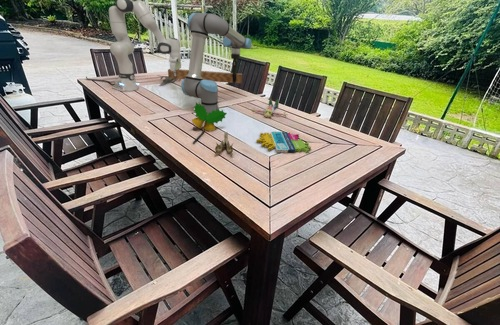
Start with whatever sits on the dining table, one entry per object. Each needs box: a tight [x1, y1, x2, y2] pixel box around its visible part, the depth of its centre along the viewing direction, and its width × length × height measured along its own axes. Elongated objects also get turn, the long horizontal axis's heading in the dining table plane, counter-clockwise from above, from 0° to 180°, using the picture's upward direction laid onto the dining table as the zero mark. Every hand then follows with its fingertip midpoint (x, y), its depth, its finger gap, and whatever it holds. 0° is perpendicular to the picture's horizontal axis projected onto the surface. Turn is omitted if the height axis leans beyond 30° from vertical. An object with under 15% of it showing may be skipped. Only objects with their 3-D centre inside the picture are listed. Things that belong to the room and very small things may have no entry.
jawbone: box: [214, 131, 234, 156], centre depth 136 cm, size 9×15×10 cm
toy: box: [250, 97, 288, 118], centre depth 199 cm, size 28×7×30 cm
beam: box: [167, 68, 243, 84], centre depth 231 cm, size 65×5×7 cm, turn 87°
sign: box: [256, 131, 312, 154], centre depth 152 cm, size 26×2×30 cm
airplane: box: [156, 74, 182, 87], centre depth 264 cm, size 38×31×10 cm
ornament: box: [191, 102, 228, 132], centre depth 162 cm, size 21×8×15 cm, turn 105°
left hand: (176, 75), depth 232 cm, fingers closed on beam, 5 cm apart
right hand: (234, 81), depth 232 cm, fingers closed on beam, 5 cm apart
